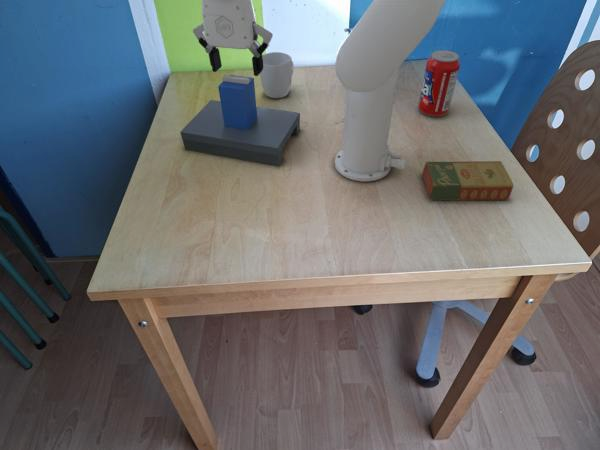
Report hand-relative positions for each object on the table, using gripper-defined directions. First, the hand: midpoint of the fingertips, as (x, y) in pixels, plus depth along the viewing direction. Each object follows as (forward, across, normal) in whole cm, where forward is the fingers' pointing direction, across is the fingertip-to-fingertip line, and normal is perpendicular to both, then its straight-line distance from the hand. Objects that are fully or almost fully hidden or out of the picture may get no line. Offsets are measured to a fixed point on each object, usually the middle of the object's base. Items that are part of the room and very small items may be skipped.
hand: (237, 71), depth 92 cm
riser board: (+17, -1, 0) cm, 17 cm away
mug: (+18, -1, +27) cm, 32 cm away
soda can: (+19, +42, +27) cm, 53 cm away
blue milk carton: (+12, -1, 0) cm, 12 cm away
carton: (+19, +51, -4) cm, 55 cm away
